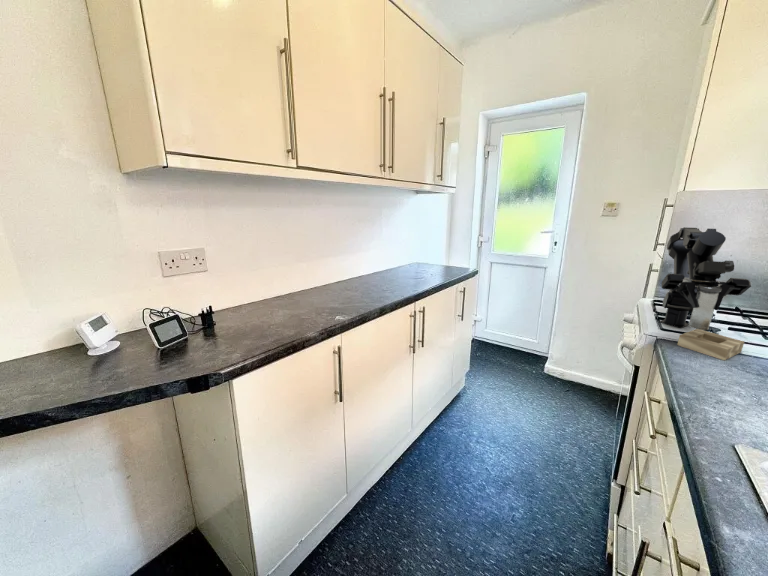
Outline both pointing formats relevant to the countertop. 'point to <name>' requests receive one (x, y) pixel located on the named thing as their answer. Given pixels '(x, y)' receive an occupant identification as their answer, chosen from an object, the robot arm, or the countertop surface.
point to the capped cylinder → (704, 306)
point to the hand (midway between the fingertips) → (706, 308)
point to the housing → (710, 344)
